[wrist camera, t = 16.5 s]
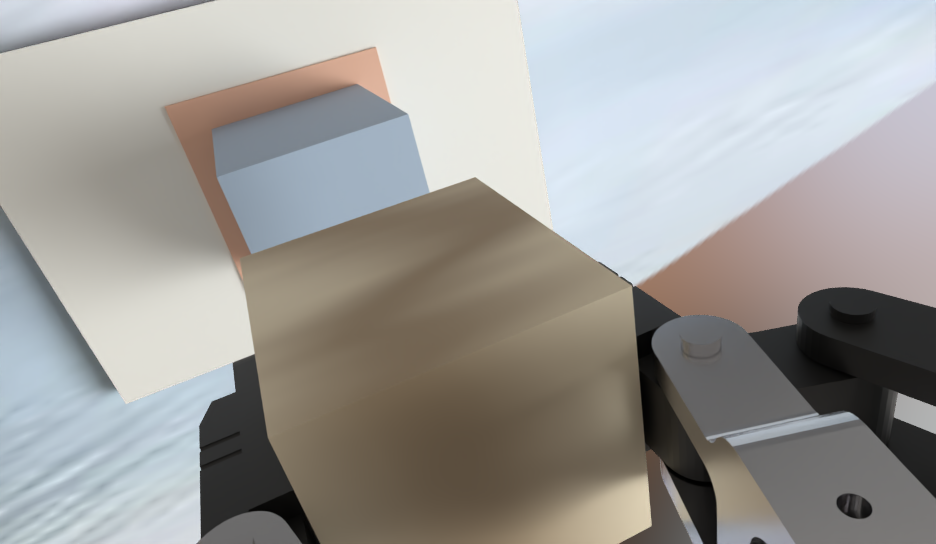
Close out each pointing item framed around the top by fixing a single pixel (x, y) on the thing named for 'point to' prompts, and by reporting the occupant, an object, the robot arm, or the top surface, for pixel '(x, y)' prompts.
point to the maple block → (450, 378)
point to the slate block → (316, 165)
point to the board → (192, 153)
